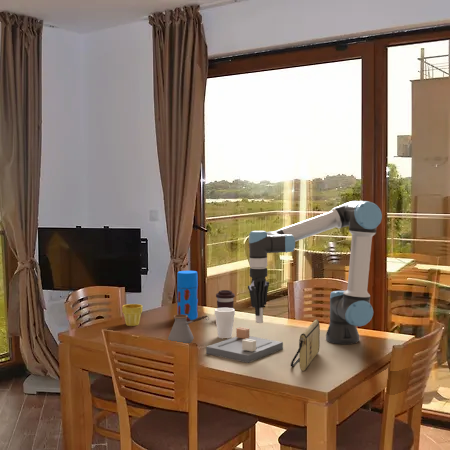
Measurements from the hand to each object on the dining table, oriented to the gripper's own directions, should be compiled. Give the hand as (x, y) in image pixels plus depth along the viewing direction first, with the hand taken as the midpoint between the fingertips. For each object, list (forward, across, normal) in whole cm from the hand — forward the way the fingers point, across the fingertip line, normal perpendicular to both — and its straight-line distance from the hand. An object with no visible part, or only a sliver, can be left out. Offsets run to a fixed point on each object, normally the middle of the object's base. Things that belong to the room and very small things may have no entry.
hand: (259, 322), depth 261 cm
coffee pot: (+13, +8, -32) cm, 36 cm away
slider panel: (+13, 0, -7) cm, 15 cm away
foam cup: (+14, -14, -30) cm, 35 cm away
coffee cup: (+14, -44, -52) cm, 69 cm away
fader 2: (+10, +7, 0) cm, 12 cm away
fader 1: (+10, -8, -14) cm, 19 cm away
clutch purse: (+14, -2, +21) cm, 25 cm away
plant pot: (+13, -4, -82) cm, 83 cm away
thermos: (+13, -32, -70) cm, 78 cm away
